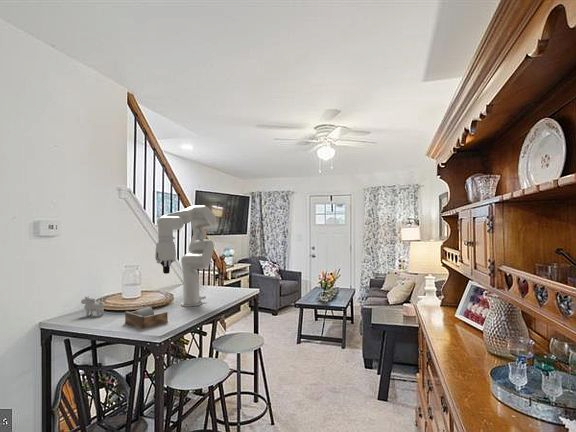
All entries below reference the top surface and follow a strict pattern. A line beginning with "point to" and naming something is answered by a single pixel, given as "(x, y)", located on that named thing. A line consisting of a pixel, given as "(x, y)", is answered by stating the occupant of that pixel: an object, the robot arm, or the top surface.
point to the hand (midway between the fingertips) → (166, 273)
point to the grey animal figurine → (92, 306)
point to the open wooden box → (145, 319)
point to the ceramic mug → (145, 311)
